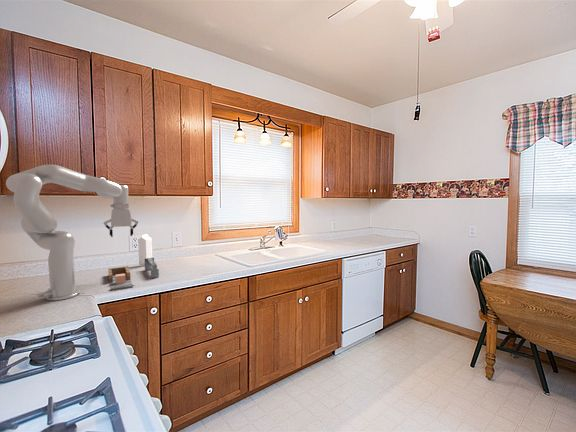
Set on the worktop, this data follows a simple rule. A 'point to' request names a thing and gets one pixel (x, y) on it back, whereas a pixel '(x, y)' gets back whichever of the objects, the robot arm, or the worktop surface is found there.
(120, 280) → the cube
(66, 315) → the worktop surface
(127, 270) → the cubby
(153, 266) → the grey long bar
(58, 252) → the robot arm
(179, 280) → the worktop surface
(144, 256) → the milk
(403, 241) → the worktop surface
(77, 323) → the worktop surface
